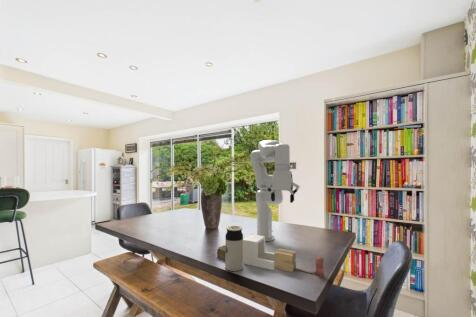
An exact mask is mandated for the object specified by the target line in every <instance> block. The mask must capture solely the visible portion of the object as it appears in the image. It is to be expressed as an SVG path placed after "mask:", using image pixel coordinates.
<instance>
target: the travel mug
mask: <svg viewBox="0 0 476 317" xmlns="http://www.w3.org/2000/svg"><path fill="white" fill-rule="evenodd" d="M225 229H226V233H225V259H224V260H225V264H224V265H225V267H224V268H225V269H226V270H227V271H230V272H238V271H240V270H242V269H243V268H244V263H243V240H244V234H243V232H242V230H243V227H242V226H240V225H229V226H226V228H225Z"/></svg>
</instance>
